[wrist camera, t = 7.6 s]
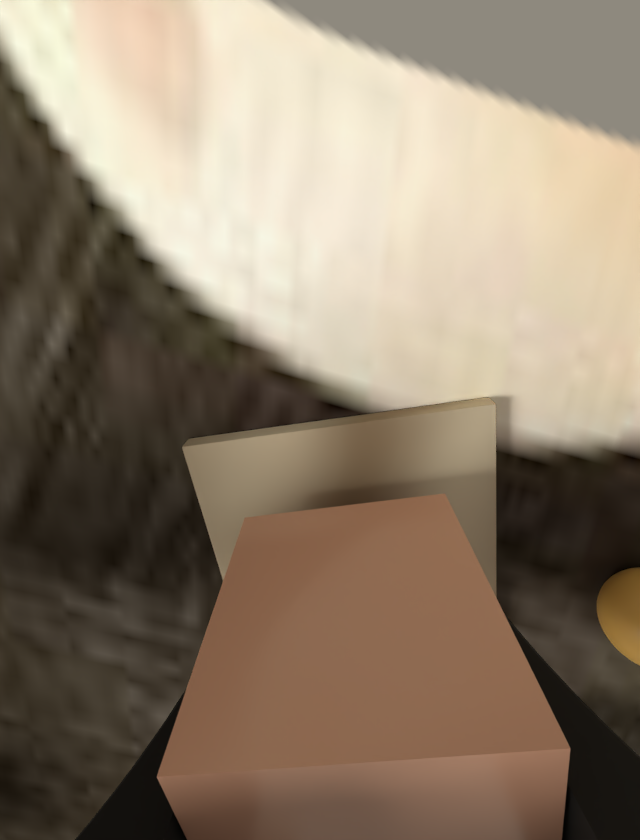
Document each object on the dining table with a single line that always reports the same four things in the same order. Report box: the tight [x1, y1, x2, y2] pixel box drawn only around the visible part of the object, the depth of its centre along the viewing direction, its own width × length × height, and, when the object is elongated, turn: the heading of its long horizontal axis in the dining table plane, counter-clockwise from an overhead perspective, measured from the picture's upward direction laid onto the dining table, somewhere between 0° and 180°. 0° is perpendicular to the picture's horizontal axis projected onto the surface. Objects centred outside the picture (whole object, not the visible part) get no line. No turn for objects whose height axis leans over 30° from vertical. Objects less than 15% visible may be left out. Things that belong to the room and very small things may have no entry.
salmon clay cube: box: [157, 494, 571, 840], centre depth 9 cm, size 5×5×6 cm
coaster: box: [182, 397, 496, 596], centre depth 13 cm, size 9×9×1 cm
